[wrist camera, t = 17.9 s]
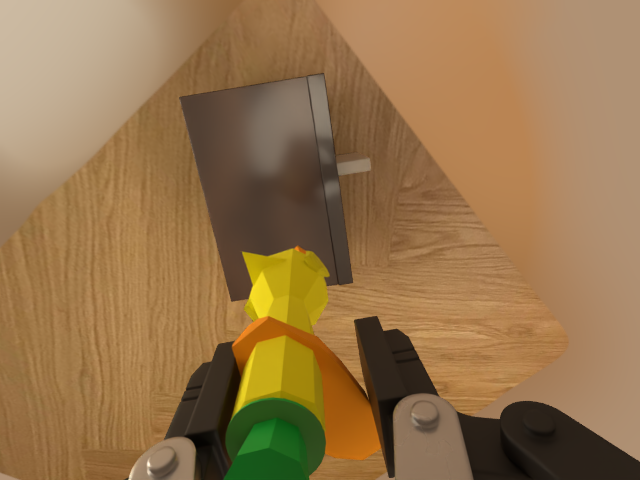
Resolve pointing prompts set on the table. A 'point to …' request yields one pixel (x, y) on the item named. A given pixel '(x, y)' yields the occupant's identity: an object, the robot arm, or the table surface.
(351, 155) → the door
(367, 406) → the toy figure
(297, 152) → the cupboard
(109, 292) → the table surface
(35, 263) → the table surface
